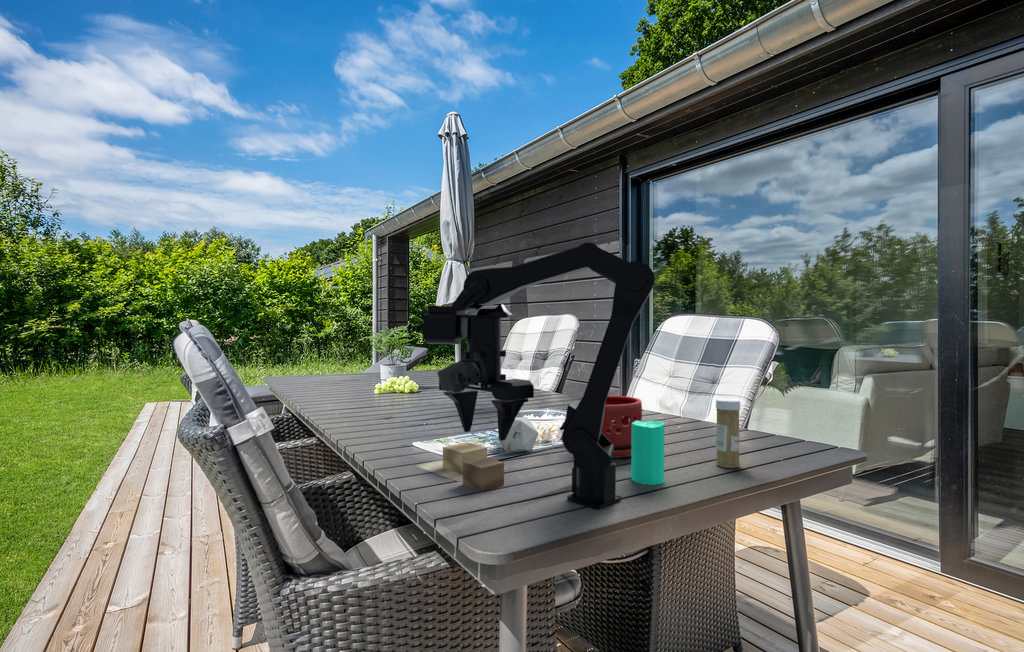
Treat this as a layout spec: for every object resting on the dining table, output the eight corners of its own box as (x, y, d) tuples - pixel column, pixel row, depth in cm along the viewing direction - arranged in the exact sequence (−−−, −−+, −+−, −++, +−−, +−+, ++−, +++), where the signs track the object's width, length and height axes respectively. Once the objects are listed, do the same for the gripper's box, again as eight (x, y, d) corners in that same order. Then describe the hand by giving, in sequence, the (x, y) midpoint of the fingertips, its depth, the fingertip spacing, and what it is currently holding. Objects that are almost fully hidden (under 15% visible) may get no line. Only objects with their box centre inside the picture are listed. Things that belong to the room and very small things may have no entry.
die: (489, 455, 117) (495, 426, 111) (505, 430, 124) (512, 401, 118) (523, 471, 115) (531, 442, 109) (537, 444, 122) (546, 416, 116)
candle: (668, 478, 99) (668, 413, 99) (659, 486, 94) (660, 419, 93) (636, 473, 102) (637, 410, 102) (626, 481, 97) (626, 415, 96)
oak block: (487, 468, 101) (487, 447, 101) (462, 474, 97) (462, 452, 97) (467, 462, 105) (467, 442, 105) (442, 468, 101) (442, 447, 101)
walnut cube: (503, 491, 91) (504, 462, 91) (481, 498, 88) (481, 468, 88) (484, 484, 95) (484, 456, 95) (462, 491, 91) (462, 462, 91)
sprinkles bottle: (742, 469, 105) (743, 401, 105) (719, 468, 105) (719, 400, 105) (735, 463, 109) (736, 397, 109) (712, 462, 110) (713, 397, 110)
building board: (509, 473, 101) (509, 468, 101) (459, 487, 93) (459, 481, 93) (463, 459, 111) (463, 454, 111) (414, 470, 103) (414, 465, 103)
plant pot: (607, 443, 126) (608, 393, 126) (654, 454, 116) (654, 399, 116) (568, 452, 118) (568, 398, 118) (614, 465, 108) (614, 405, 107)
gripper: (413, 344, 92) (413, 434, 92) (484, 348, 79) (484, 454, 79) (464, 342, 100) (464, 425, 100) (536, 346, 86) (536, 442, 86)
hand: (484, 435), depth 91 cm, fingers open, 9 cm apart
